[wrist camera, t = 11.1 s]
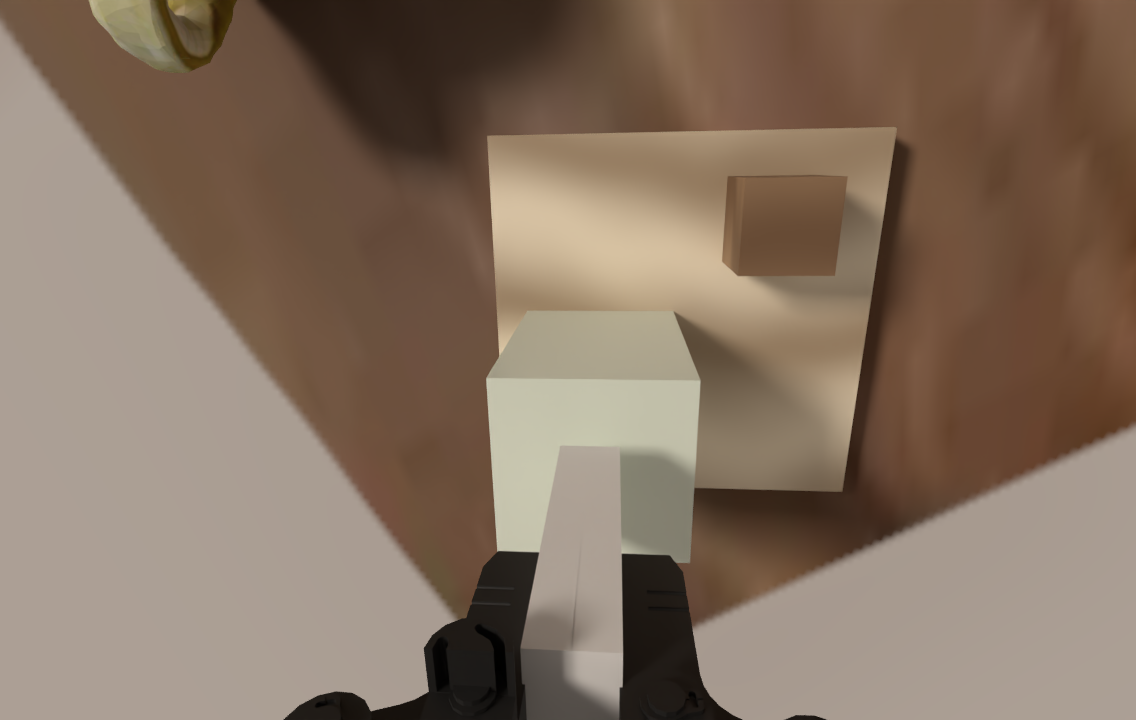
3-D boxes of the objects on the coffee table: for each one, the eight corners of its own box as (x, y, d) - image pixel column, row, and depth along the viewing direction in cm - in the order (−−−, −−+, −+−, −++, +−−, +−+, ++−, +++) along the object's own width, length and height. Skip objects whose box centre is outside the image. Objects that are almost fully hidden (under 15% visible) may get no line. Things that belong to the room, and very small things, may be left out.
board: (493, 137, 22) (467, 131, 18) (881, 129, 21) (944, 120, 17) (511, 469, 26) (492, 523, 22) (831, 477, 25) (872, 535, 21)
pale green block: (527, 310, 23) (486, 378, 15) (672, 310, 22) (700, 380, 15) (532, 441, 24) (497, 556, 17) (667, 443, 24) (689, 562, 17)
